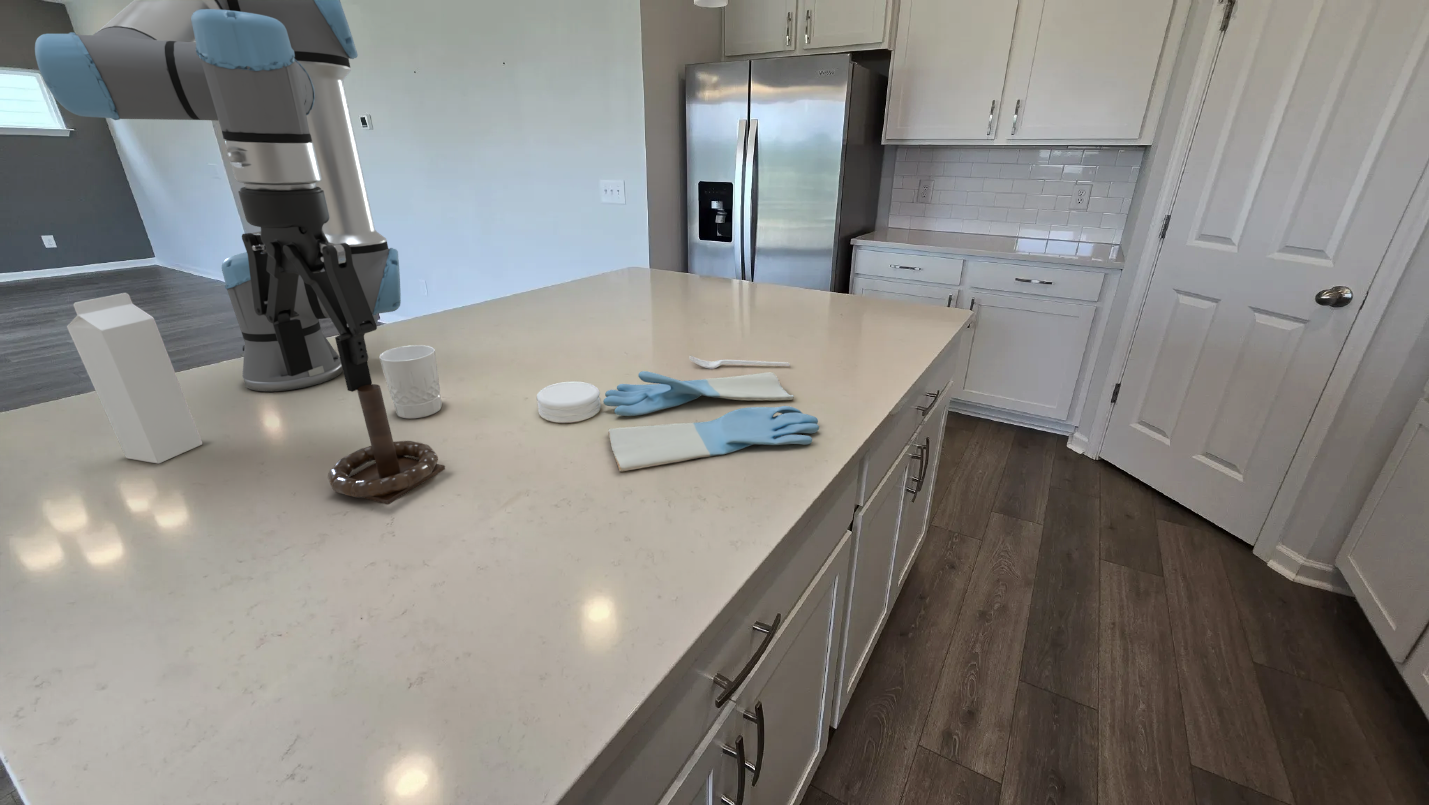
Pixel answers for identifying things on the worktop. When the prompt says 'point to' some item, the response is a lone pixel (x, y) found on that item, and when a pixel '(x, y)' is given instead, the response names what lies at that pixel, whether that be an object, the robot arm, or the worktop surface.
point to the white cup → (412, 380)
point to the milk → (133, 378)
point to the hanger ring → (385, 485)
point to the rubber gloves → (702, 437)
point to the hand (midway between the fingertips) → (329, 379)
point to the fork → (717, 363)
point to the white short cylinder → (568, 401)
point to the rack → (383, 445)
